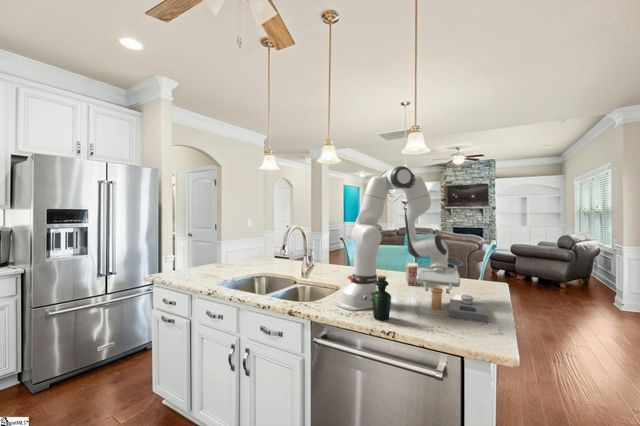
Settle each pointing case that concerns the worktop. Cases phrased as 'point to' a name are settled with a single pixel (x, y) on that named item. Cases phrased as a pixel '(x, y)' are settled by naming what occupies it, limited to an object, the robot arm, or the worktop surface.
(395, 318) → the worktop surface
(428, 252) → the robot arm
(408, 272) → the stack of blocks
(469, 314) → the gray peg hole board
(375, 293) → the potion bottle
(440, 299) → the mushroom head peg
